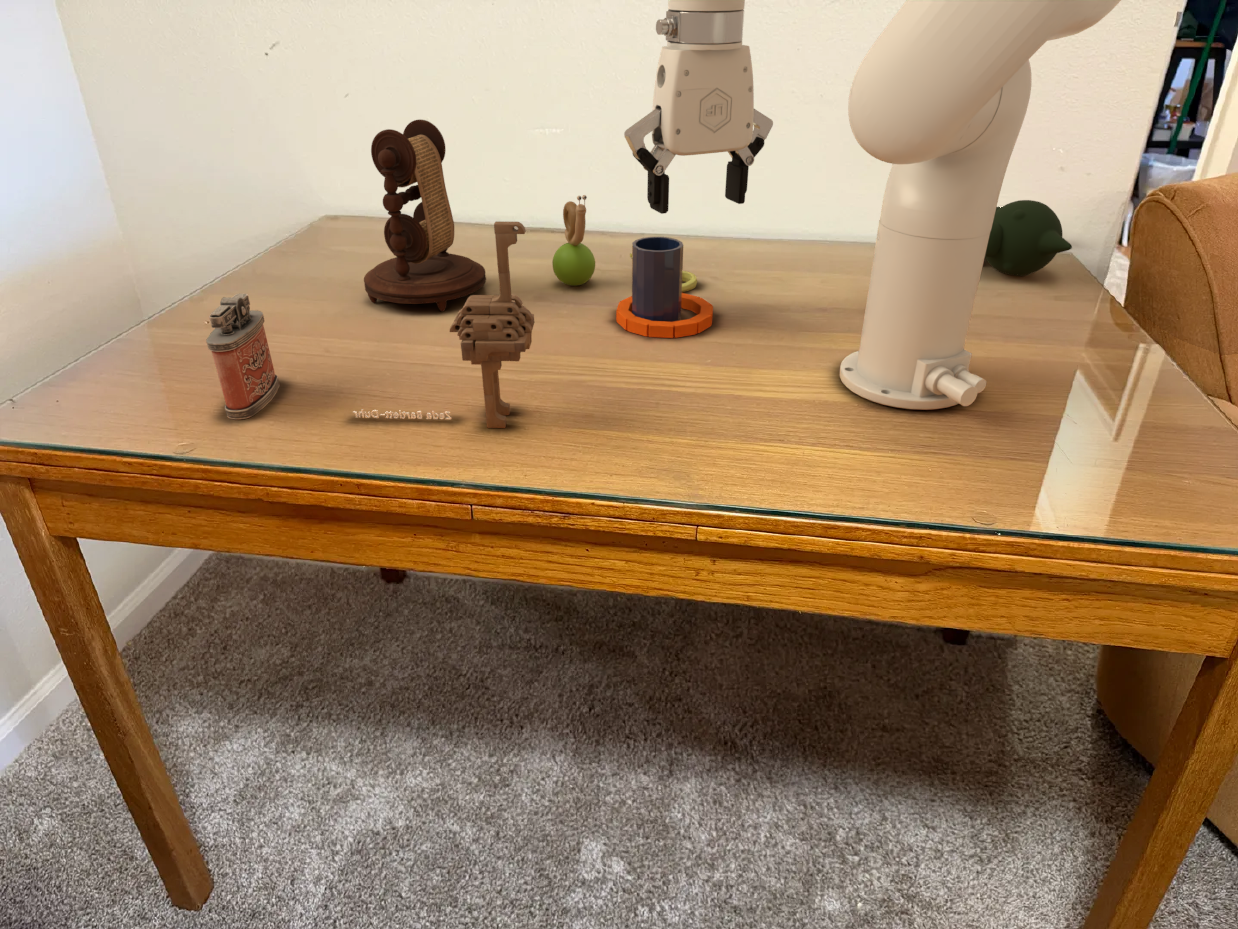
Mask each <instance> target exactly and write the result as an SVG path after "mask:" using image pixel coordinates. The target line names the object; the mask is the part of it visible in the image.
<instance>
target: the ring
mask: <svg viewBox="0 0 1238 929" xmlns="http://www.w3.org/2000/svg"><path fill="white" fill-rule="evenodd" d="M681 309H683V310H687V311H691V312H693V313H694V314H696V315H694V316H692V317H690V318H687V319H686V318H685V319H680V320H679V321H673V322H666V321H651V320H647V319H644V318H640V317H636V316H635V315H634V314H633V313H632V295H630V296H628V297H626V298H624V299H622V300H620V301H619V302H618V305H617V307H616V315H615V318H616V319H615V321H616V323H617V324H618V325H619V326H620V327H621V328H622V329H624V330H625V331H627V332H628V333H633V334H637V335H640V336H643V337H648V338H662V339H663V338H666V339H674V338H675V339H677V338H682V337H689V336H695V335H697V334H700V333H702V332H703V331H705V330H707V329H709V328H710V327H712V325H713V317H714V316H713V313H714V306H713V304H711V303H710V302H709V301H707V300H706V299H704V298H703V297H700V296H698V295H693V294H689V293H686V292H682V297H681Z"/></svg>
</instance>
